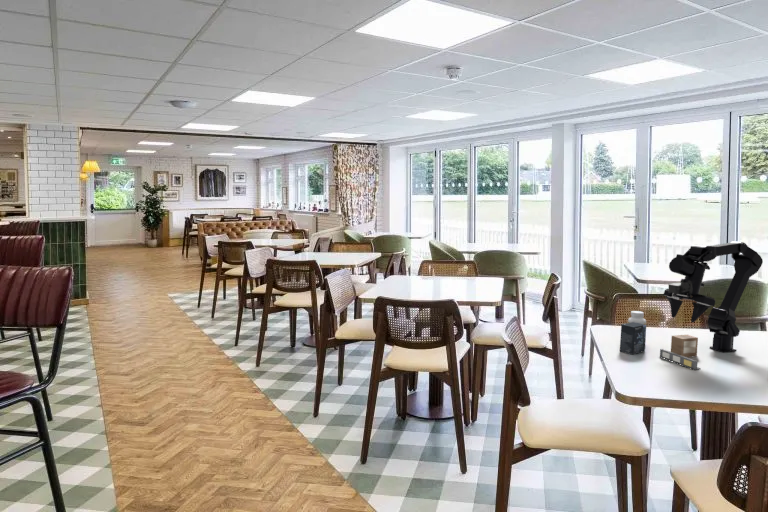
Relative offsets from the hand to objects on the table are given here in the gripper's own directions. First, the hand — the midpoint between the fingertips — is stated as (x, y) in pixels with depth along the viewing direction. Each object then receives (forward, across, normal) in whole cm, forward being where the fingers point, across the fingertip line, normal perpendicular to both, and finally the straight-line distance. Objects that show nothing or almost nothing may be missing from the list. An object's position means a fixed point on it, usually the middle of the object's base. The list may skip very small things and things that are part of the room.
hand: (682, 319), depth 208 cm
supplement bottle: (+14, -18, -1) cm, 23 cm away
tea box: (+12, 0, +5) cm, 13 cm away
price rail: (+15, +8, -5) cm, 18 cm away
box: (+16, -9, -10) cm, 21 cm away
